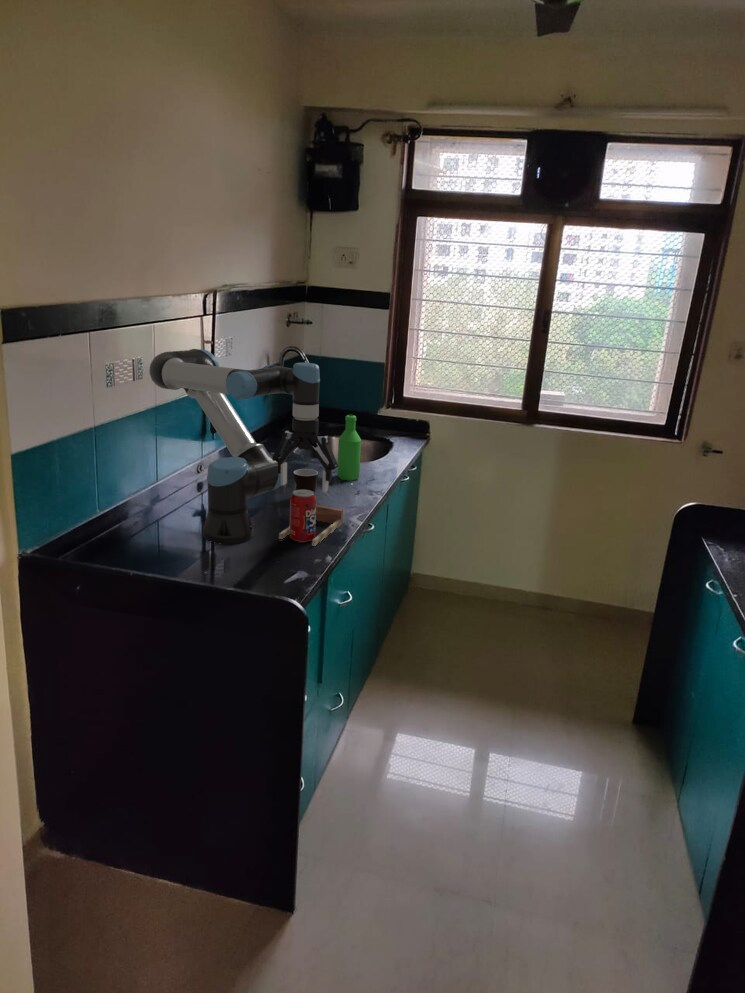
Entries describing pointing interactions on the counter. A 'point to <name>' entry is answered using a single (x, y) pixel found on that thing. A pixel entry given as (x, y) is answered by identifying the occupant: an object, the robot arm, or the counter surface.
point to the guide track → (325, 516)
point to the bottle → (349, 451)
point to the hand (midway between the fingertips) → (304, 487)
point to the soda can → (302, 515)
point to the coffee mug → (305, 479)
